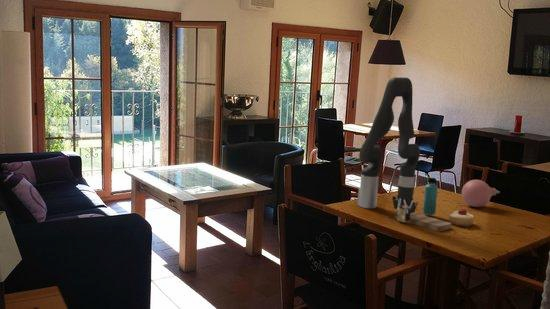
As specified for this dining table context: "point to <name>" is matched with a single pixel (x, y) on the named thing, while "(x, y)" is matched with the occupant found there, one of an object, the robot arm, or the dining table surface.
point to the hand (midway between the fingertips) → (403, 219)
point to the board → (428, 222)
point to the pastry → (461, 218)
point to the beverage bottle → (430, 197)
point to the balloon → (477, 193)
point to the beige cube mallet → (401, 214)
